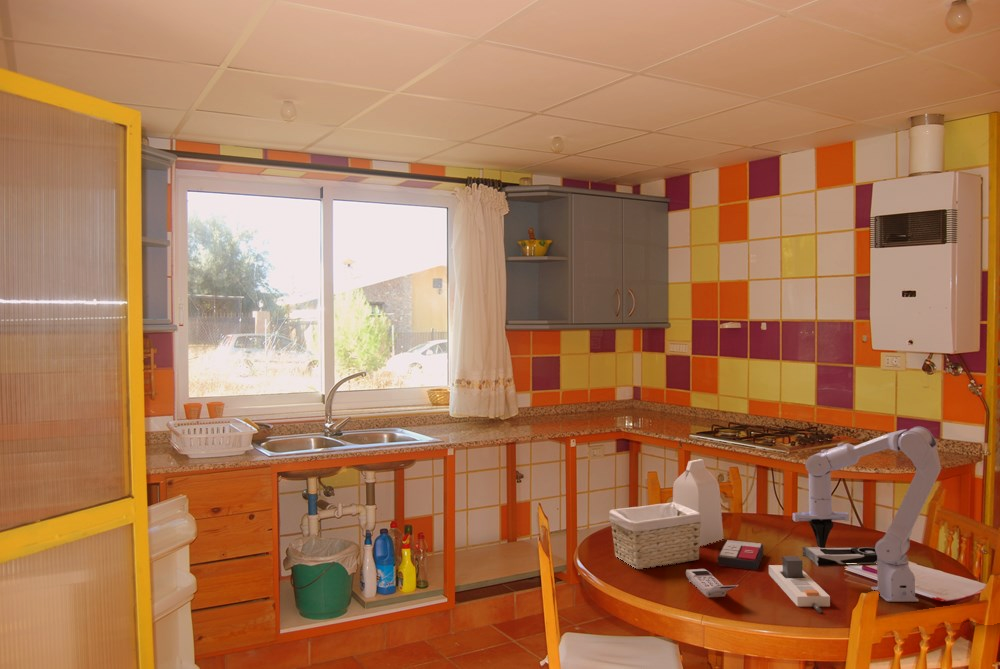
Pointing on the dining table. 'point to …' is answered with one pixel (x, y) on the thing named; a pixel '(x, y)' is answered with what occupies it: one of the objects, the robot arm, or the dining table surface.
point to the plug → (792, 567)
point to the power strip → (800, 589)
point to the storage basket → (656, 534)
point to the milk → (701, 499)
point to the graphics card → (840, 555)
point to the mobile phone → (707, 583)
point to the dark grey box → (741, 554)
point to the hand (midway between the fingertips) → (821, 546)
